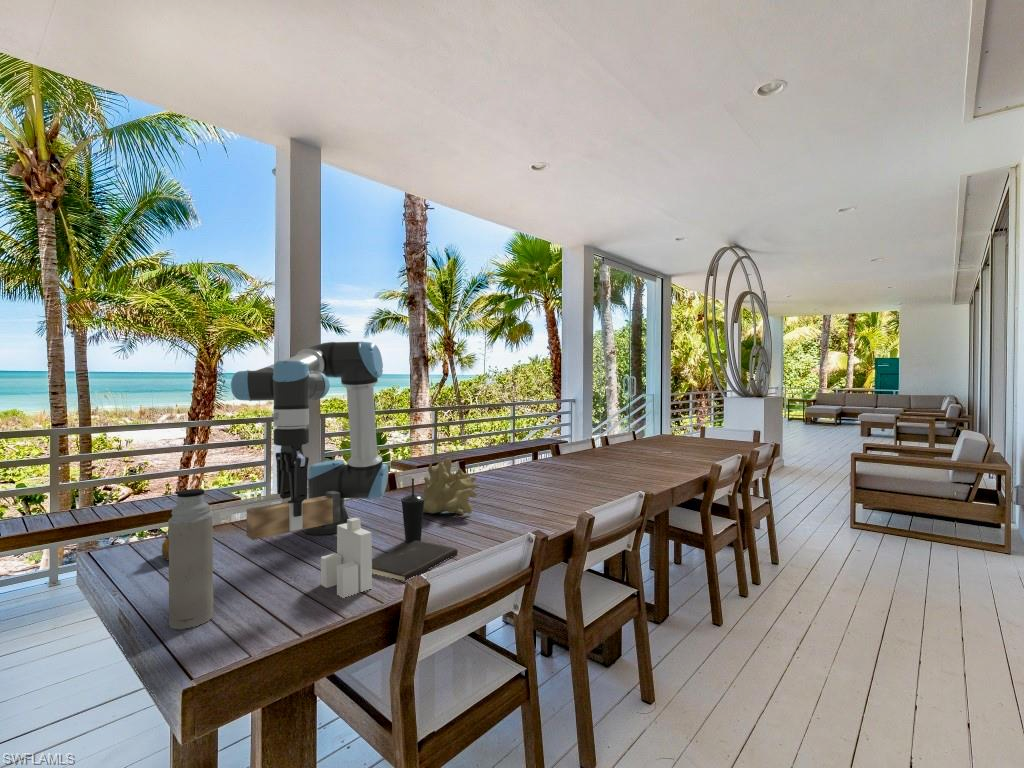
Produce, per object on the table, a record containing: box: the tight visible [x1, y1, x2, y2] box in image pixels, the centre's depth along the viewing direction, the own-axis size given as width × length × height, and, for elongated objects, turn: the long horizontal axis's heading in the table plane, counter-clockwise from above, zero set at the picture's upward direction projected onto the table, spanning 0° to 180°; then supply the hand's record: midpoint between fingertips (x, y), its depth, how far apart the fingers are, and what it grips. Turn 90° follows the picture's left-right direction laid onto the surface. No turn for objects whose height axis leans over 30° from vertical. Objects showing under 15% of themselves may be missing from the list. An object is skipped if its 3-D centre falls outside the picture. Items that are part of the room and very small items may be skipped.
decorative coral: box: [421, 457, 479, 516], centre depth 191 cm, size 26×22×25 cm
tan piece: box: [246, 491, 340, 541], centre depth 116 cm, size 20×4×7 cm, turn 135°
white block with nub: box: [320, 517, 373, 599], centre depth 123 cm, size 12×8×16 cm, turn 46°
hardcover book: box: [372, 540, 459, 581], centre depth 140 cm, size 16×23×2 cm
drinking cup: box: [400, 478, 425, 544], centre depth 158 cm, size 8×8×20 cm
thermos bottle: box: [167, 488, 214, 630], centre depth 106 cm, size 8×8×28 cm
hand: (291, 527), depth 115 cm, fingers closed on tan piece, 4 cm apart
